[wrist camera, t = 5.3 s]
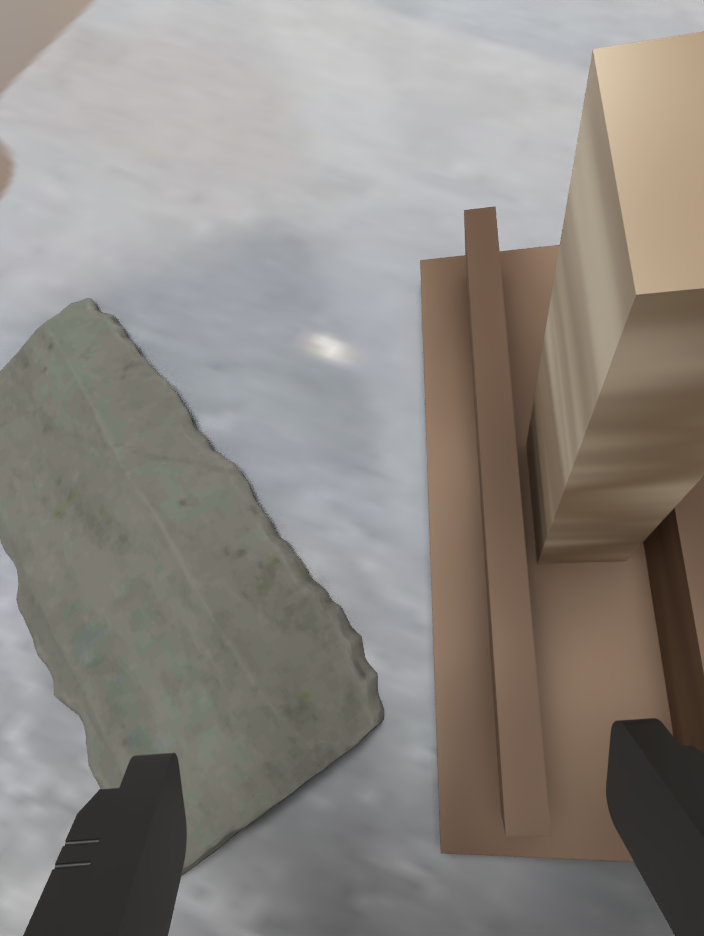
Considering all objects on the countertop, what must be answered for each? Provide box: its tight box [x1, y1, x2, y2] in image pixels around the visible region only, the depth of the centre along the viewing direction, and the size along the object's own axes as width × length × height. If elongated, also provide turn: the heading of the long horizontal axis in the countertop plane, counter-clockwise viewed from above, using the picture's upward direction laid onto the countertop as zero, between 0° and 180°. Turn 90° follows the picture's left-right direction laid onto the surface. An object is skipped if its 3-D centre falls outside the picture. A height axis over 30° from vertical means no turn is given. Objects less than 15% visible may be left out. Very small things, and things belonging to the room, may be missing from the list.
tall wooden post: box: [526, 32, 704, 564], centre depth 14 cm, size 3×4×14 cm, turn 179°
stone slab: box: [0, 298, 384, 875], centre depth 25 cm, size 22×3×10 cm
